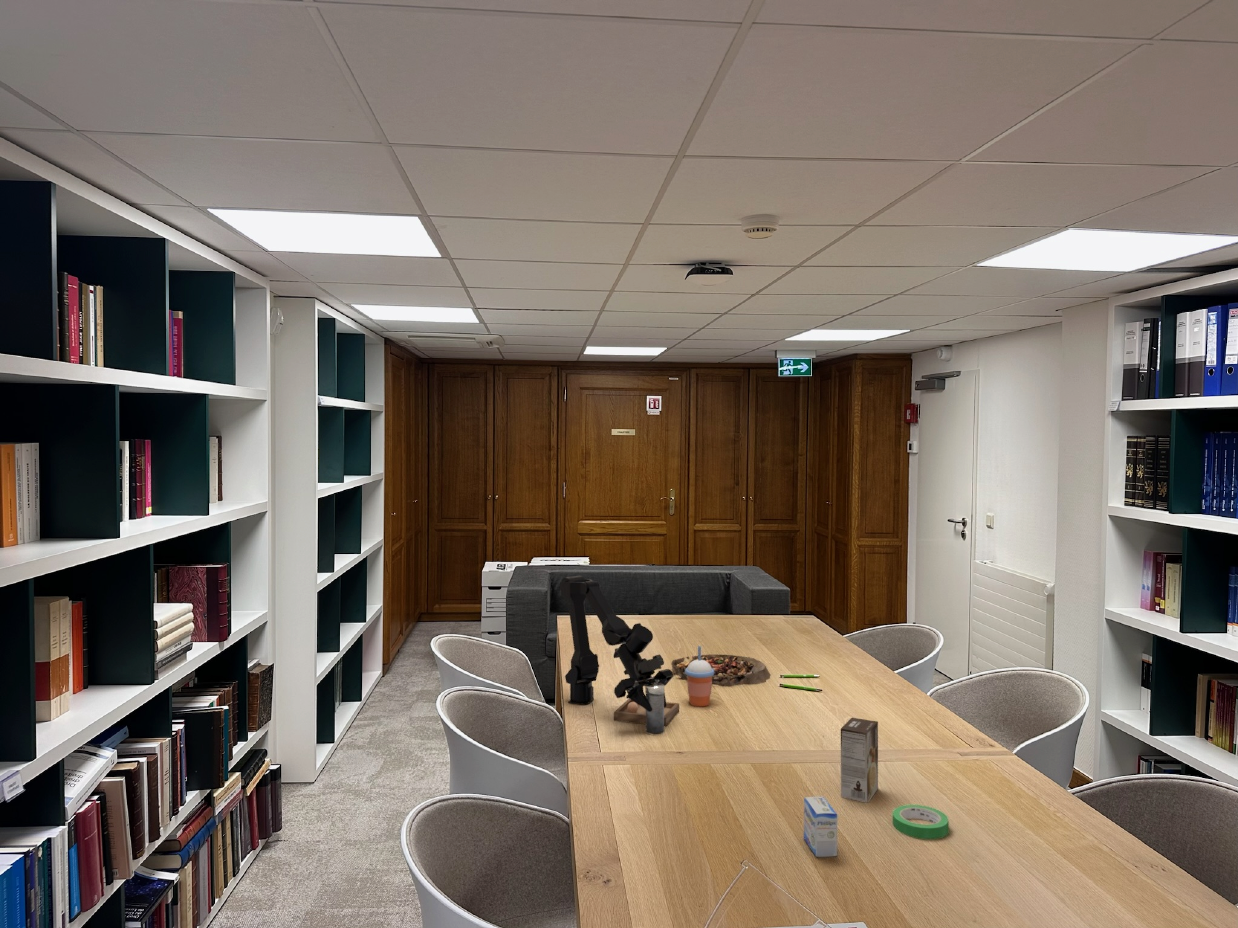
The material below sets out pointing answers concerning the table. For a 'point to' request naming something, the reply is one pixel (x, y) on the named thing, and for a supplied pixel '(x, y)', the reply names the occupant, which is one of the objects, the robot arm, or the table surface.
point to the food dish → (728, 669)
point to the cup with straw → (699, 681)
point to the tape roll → (920, 830)
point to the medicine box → (820, 827)
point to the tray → (644, 713)
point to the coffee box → (859, 759)
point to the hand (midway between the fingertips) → (658, 708)
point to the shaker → (655, 708)
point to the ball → (632, 707)
